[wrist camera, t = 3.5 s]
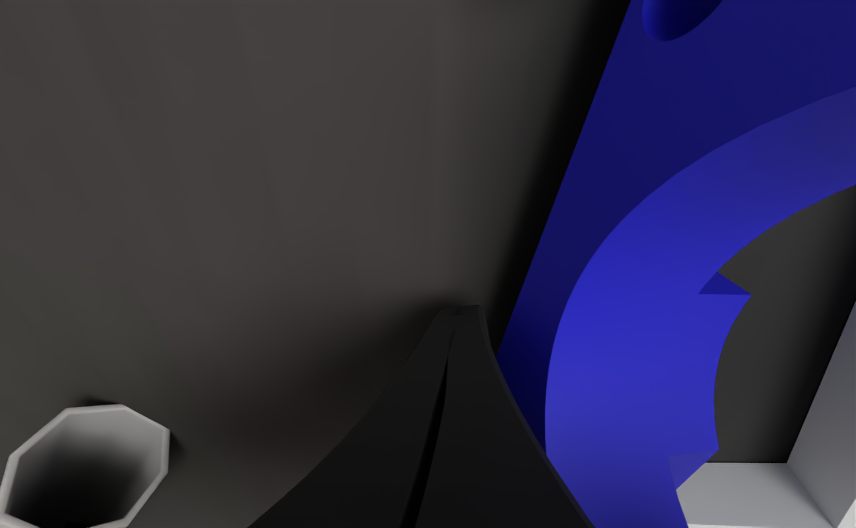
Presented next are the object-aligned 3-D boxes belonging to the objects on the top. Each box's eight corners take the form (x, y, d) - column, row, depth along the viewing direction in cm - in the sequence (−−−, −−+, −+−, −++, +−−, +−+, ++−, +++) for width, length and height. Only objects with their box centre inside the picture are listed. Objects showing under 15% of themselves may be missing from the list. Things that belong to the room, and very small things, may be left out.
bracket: (1240, -405, 4) (1787, -736, 2) (808, 476, 12) (860, 544, 11) (533, -135, 6) (551, -213, 4) (571, 473, 14) (582, 531, 12)
